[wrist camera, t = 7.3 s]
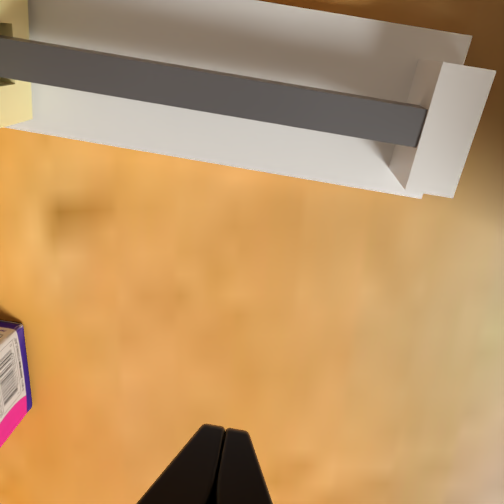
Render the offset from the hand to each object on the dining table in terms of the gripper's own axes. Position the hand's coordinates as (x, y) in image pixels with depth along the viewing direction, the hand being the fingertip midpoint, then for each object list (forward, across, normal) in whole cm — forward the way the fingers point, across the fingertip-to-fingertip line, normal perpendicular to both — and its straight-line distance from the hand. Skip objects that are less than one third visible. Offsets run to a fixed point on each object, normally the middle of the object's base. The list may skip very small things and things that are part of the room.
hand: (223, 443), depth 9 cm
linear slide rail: (+13, +5, -5) cm, 15 cm away
